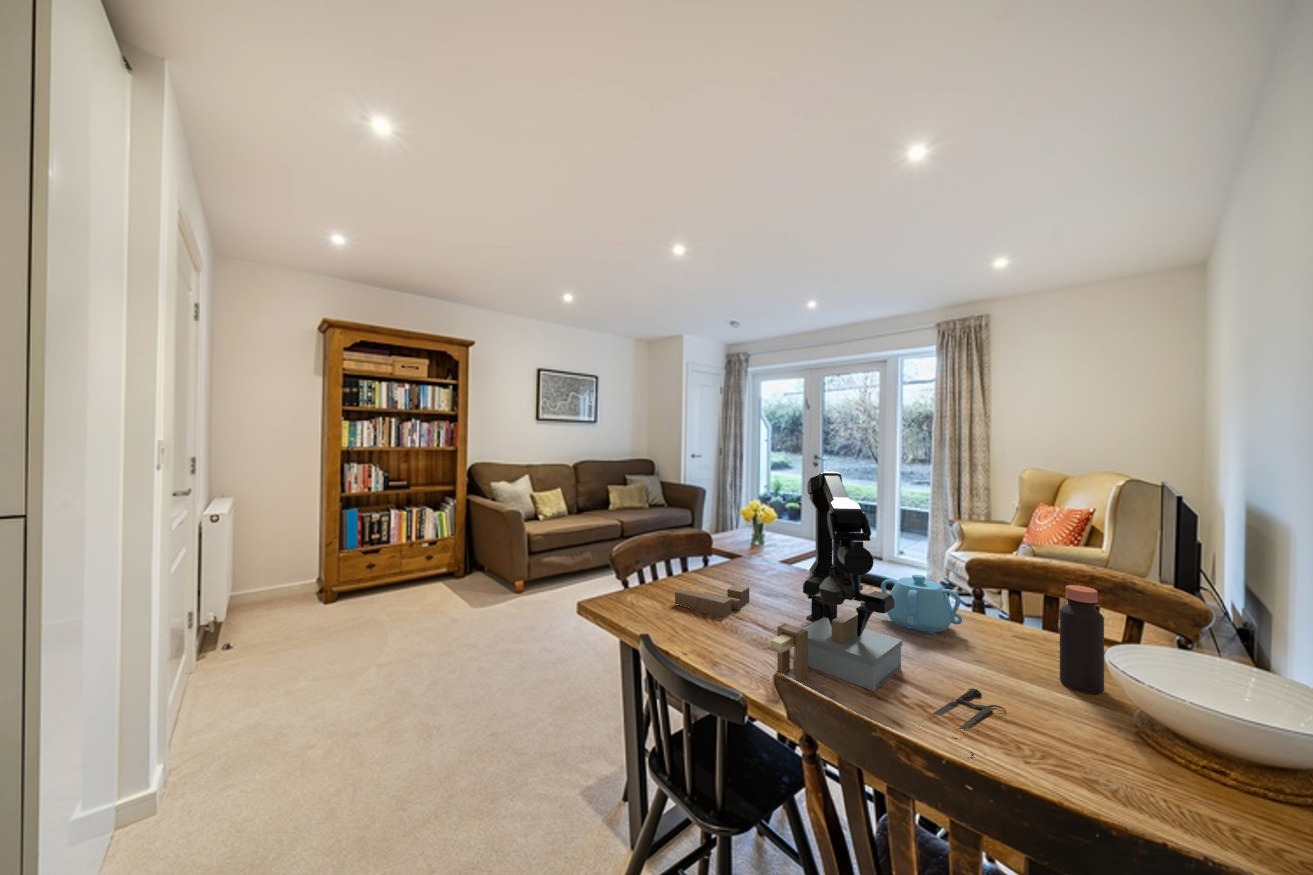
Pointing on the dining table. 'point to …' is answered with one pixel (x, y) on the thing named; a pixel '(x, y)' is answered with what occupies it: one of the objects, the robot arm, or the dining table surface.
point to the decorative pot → (922, 604)
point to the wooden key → (782, 643)
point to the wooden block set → (714, 600)
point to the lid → (851, 639)
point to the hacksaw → (964, 700)
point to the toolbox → (834, 662)
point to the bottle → (1082, 641)
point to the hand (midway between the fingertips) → (846, 632)
